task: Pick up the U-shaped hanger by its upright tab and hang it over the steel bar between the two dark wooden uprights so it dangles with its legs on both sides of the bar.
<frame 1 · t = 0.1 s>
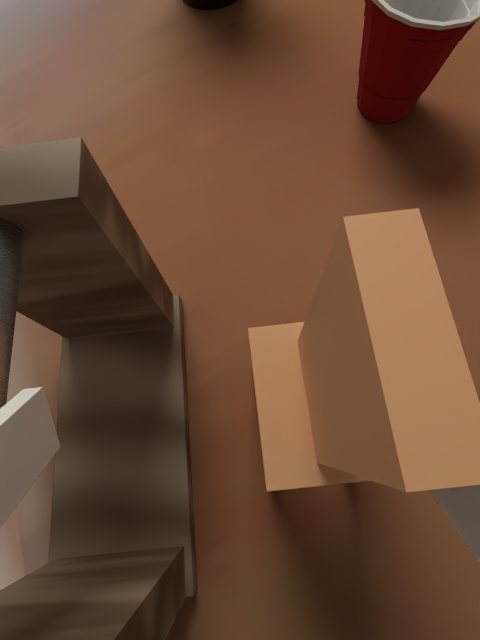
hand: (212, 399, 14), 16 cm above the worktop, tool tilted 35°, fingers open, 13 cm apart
plastic cup: (384, 106, 39), on the worktop
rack: (127, 433, 29), on the worktop
hanger: (300, 414, 29), on the worktop
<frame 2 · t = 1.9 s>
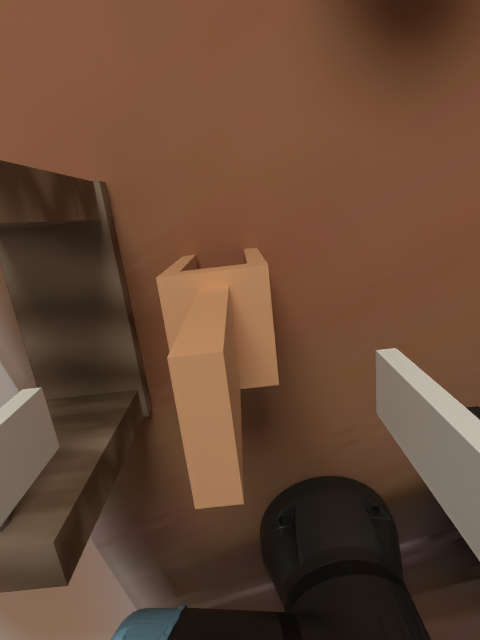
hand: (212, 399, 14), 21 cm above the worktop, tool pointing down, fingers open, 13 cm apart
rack: (78, 311, 34), on the worktop
hanger: (225, 294, 34), on the worktop
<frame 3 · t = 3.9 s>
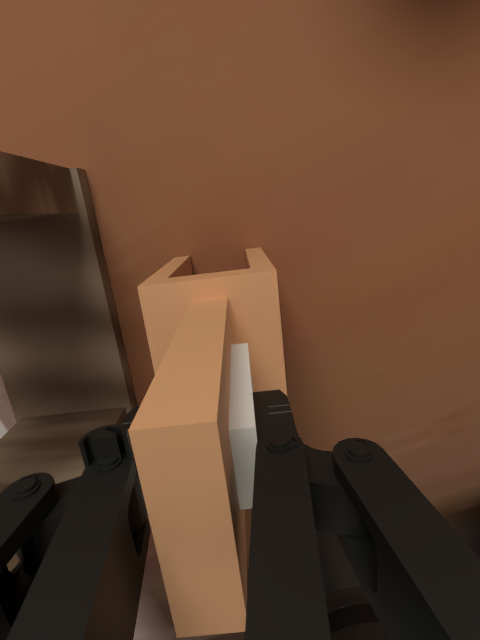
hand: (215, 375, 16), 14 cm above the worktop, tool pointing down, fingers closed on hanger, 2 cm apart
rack: (57, 318, 30), on the worktop
hanger: (224, 301, 30), on the worktop, touching gripper
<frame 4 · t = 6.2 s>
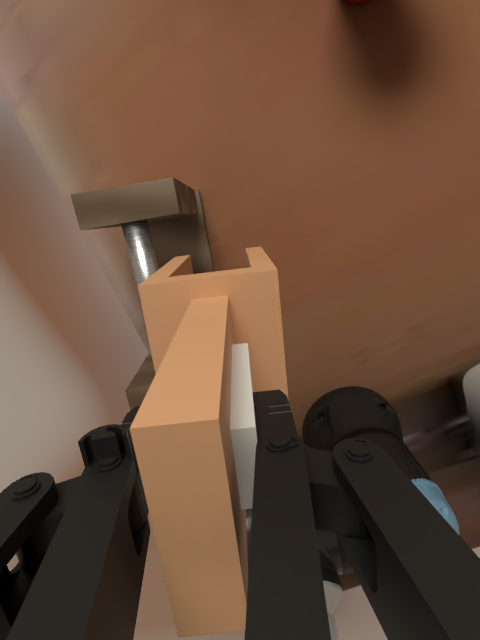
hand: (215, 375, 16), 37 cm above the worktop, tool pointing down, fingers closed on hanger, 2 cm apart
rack: (179, 276, 52), on the worktop
hanger: (224, 300, 30), point 23 cm above the worktop, touching gripper
when the fingers open (23 cm above the worktop, at t = 8.9 s): hanger drops 1 cm, resting on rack.
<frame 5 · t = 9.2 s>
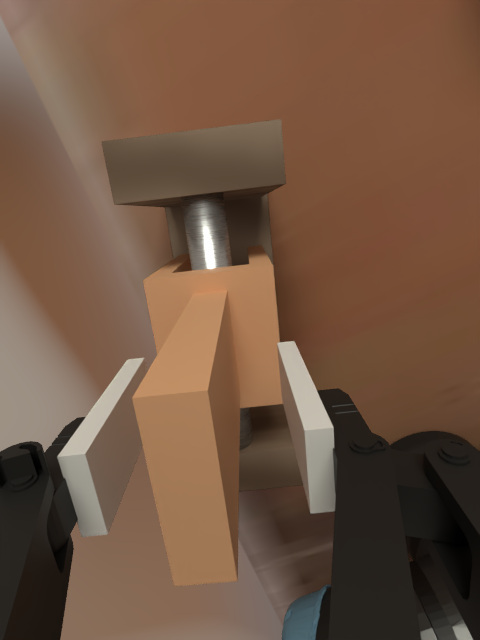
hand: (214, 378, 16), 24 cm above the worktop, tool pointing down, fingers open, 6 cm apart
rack: (226, 280, 39), on the worktop
hanger: (226, 296, 31), point 8 cm above the worktop, touching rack
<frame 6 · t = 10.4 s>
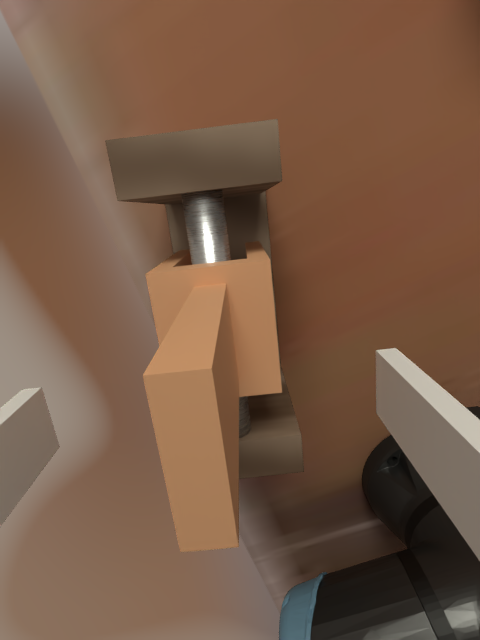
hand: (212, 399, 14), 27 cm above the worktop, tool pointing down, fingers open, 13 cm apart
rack: (225, 275, 40), on the worktop
hanger: (225, 291, 32), point 8 cm above the worktop, touching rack
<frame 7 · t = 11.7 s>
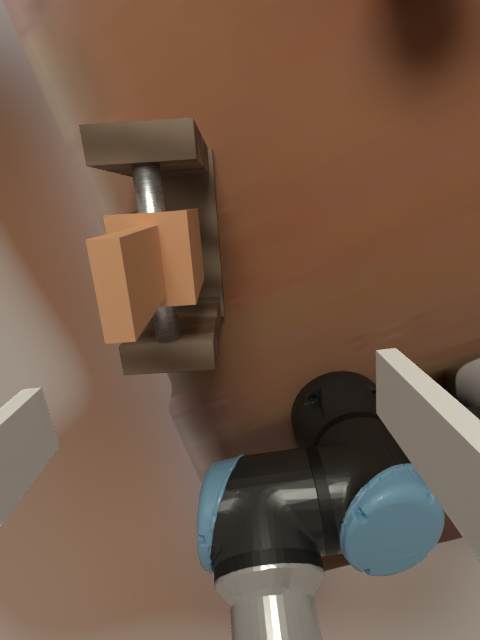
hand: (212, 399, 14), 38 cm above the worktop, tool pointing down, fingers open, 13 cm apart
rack: (182, 239, 50), on the worktop
hanger: (171, 246, 42), point 8 cm above the worktop, touching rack
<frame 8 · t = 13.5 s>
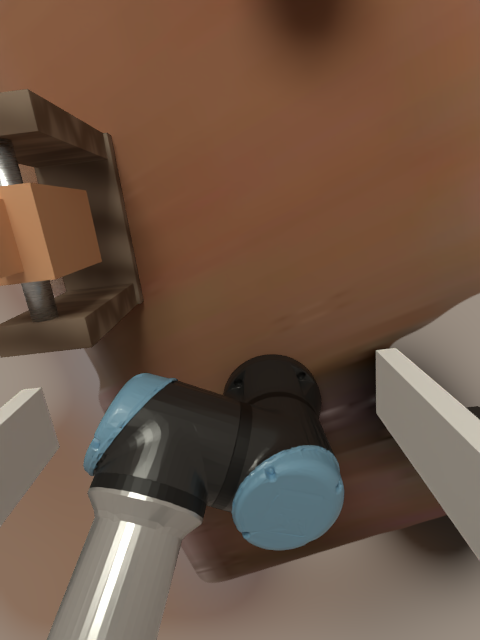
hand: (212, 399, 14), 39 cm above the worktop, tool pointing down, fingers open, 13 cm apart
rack: (92, 227, 50), on the worktop
hanger: (65, 230, 42), point 8 cm above the worktop, touching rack
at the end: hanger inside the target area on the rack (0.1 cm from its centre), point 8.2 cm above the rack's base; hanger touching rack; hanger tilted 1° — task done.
